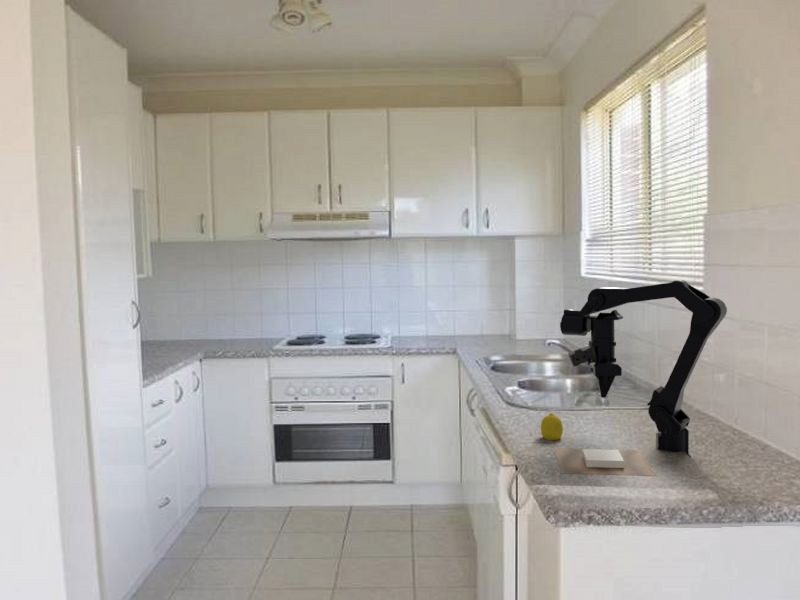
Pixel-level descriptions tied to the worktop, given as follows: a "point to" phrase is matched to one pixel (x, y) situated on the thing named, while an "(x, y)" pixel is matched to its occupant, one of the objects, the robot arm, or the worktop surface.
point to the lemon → (551, 427)
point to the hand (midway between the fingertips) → (603, 397)
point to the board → (575, 464)
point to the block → (602, 458)
